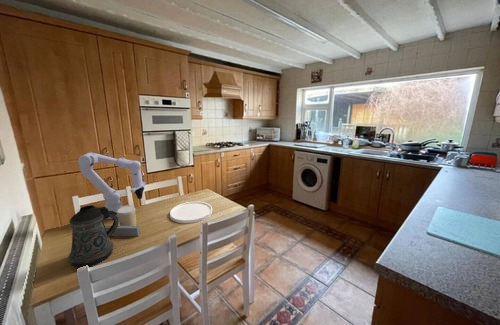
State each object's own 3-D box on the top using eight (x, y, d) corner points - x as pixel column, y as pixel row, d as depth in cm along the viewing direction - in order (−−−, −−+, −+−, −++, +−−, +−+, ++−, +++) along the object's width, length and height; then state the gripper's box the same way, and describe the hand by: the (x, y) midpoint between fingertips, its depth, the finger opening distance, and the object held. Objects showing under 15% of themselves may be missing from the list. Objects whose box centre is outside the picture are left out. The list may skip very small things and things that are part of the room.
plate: (213, 221, 130) (213, 217, 129) (167, 226, 123) (166, 222, 123) (211, 202, 156) (211, 199, 156) (172, 206, 150) (172, 203, 149)
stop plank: (101, 235, 112) (100, 227, 111) (104, 233, 114) (103, 225, 113) (138, 236, 112) (137, 228, 111) (140, 233, 115) (139, 225, 113)
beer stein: (62, 262, 92) (50, 212, 86) (106, 238, 110) (99, 195, 104) (84, 273, 86) (73, 220, 80) (127, 247, 103) (120, 201, 97)
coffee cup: (141, 225, 123) (139, 207, 121) (128, 233, 115) (125, 214, 112) (129, 222, 126) (126, 204, 123) (115, 230, 117) (112, 211, 114)
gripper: (137, 183, 126) (140, 203, 129) (148, 175, 140) (151, 194, 143) (125, 183, 126) (129, 203, 129) (138, 175, 140) (141, 194, 143)
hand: (140, 198), depth 136 cm, fingers closed
